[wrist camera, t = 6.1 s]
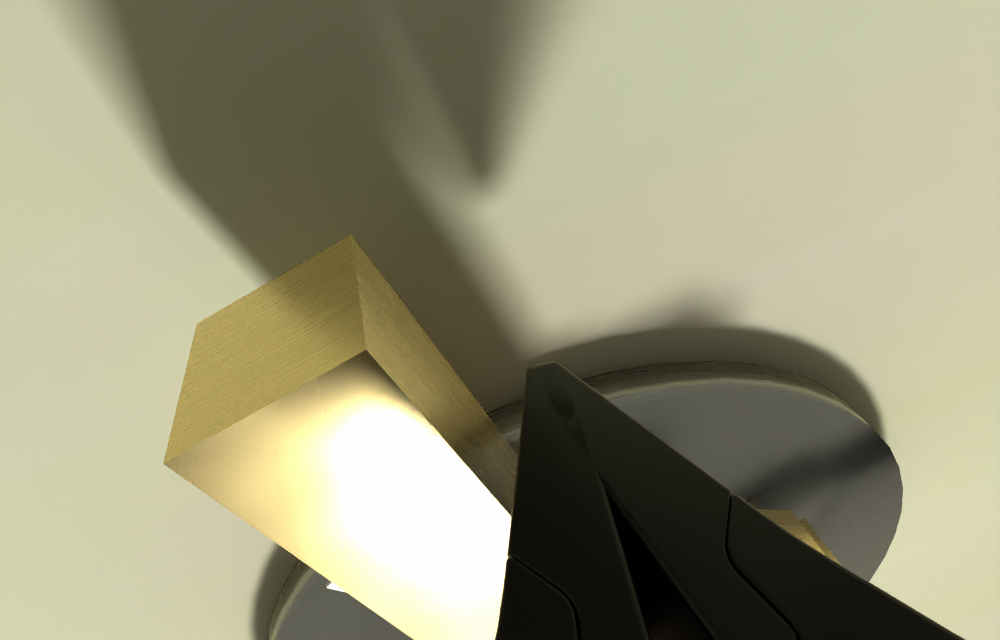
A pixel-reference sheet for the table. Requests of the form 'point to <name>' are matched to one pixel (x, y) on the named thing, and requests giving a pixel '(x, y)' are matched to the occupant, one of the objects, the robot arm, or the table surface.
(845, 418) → the cap plate
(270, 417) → the wooden gear crank
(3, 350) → the table surface
